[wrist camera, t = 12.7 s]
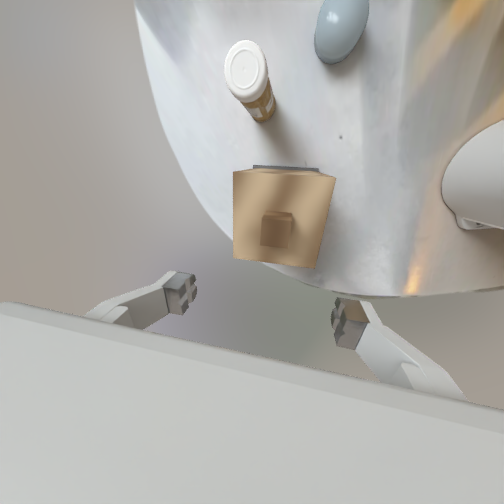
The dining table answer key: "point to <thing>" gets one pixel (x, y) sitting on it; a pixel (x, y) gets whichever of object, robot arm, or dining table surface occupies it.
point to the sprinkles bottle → (250, 79)
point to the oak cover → (280, 215)
